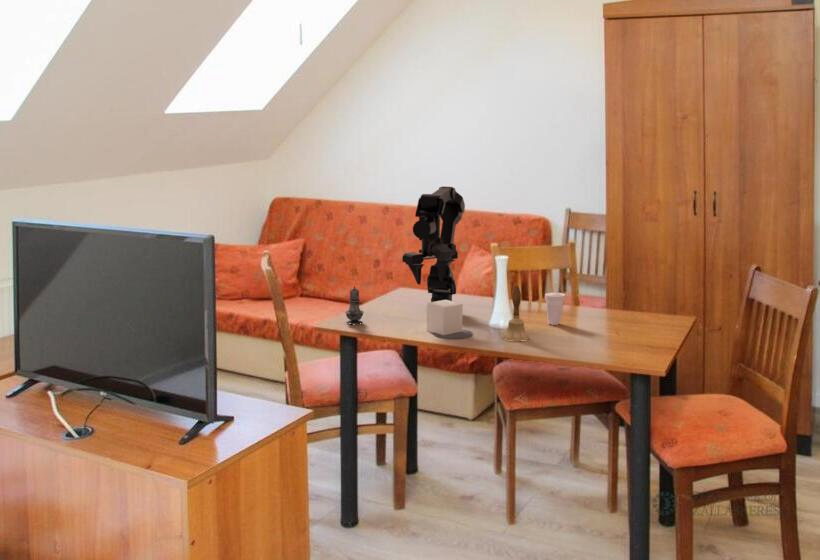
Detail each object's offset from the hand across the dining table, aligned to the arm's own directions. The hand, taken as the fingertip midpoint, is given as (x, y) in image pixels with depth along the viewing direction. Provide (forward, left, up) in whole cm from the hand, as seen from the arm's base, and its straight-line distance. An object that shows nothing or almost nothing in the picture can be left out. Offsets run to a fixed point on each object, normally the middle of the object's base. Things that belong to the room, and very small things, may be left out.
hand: (430, 282), depth 310 cm
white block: (+5, +13, -12) cm, 19 cm away
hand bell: (-7, +32, -13) cm, 35 cm away
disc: (+5, +17, -12) cm, 22 cm away
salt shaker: (+21, -12, -13) cm, 27 cm away
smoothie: (-29, +27, -13) cm, 42 cm away
